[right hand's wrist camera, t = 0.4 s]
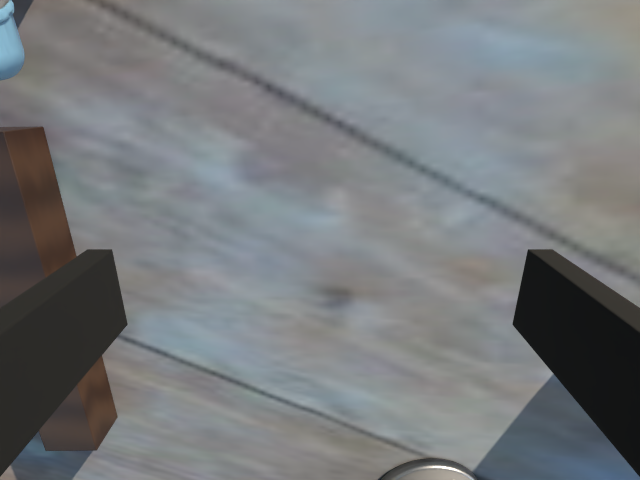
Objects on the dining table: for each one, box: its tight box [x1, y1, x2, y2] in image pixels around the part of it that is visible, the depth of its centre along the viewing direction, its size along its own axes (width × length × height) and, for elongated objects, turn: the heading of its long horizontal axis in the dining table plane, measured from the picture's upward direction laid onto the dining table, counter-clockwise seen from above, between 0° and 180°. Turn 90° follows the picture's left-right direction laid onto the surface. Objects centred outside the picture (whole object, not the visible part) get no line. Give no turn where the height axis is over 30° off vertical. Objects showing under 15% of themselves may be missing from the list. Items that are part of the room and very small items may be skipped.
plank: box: [0, 127, 117, 451], centre depth 41 cm, size 36×6×5 cm, turn 1°
